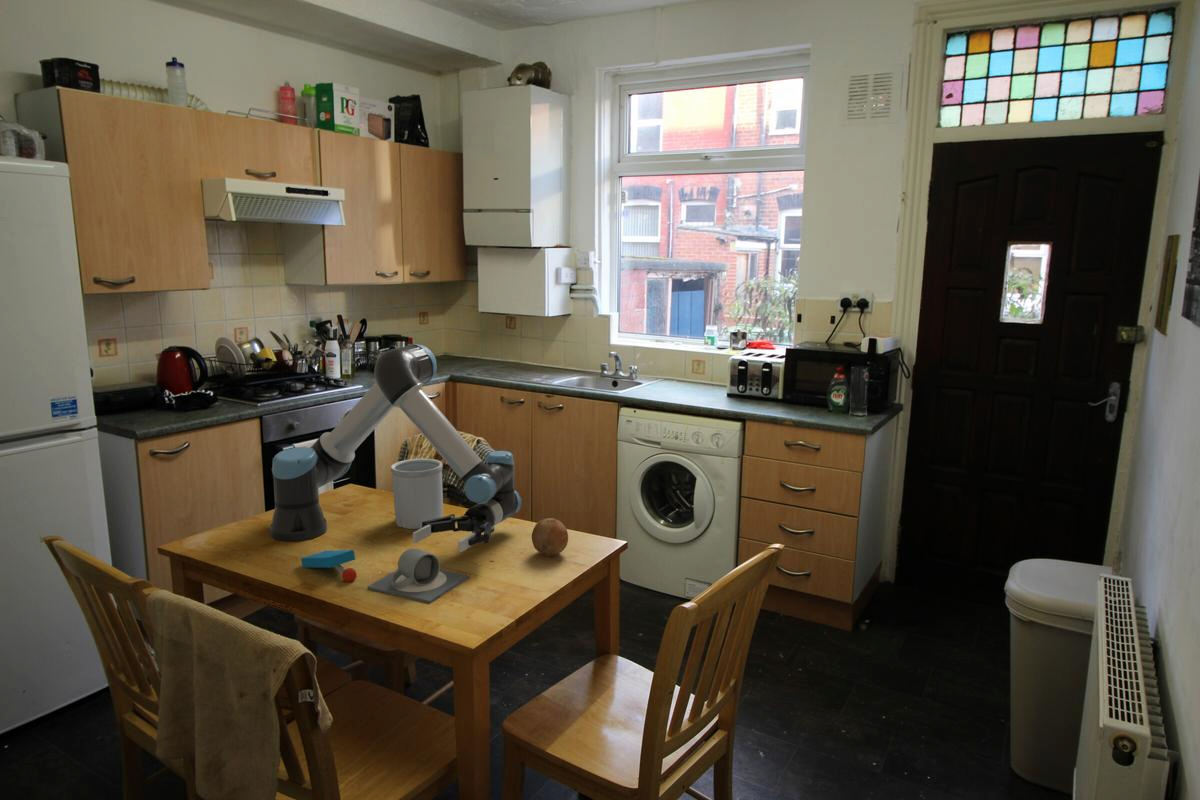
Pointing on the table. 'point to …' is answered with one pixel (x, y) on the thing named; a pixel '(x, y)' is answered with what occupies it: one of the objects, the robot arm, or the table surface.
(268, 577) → the table surface
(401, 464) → the utensil holder
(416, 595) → the mat
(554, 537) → the reddish-brown ball
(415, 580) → the ceramic mug
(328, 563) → the lever
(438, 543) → the table surface
